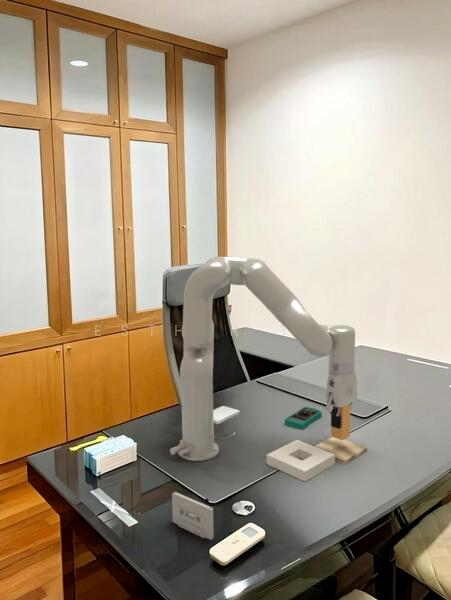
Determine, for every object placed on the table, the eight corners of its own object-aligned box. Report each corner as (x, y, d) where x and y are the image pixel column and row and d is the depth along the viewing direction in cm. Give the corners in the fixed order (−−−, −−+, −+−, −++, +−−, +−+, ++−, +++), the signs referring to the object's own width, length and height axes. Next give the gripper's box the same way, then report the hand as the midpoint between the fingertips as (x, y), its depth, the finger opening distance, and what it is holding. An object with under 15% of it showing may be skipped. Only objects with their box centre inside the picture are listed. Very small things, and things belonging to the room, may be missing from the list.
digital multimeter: (322, 417, 189) (322, 409, 189) (302, 431, 178) (302, 423, 177) (304, 412, 194) (304, 405, 193) (283, 426, 182) (283, 418, 182)
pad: (344, 464, 154) (344, 460, 154) (311, 450, 163) (311, 447, 163) (366, 450, 162) (366, 447, 162) (333, 438, 171) (333, 435, 171)
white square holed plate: (305, 481, 145) (305, 471, 144) (266, 464, 155) (266, 454, 154) (334, 464, 154) (335, 454, 154) (296, 448, 164) (296, 439, 164)
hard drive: (222, 405, 198) (200, 415, 188) (239, 410, 193) (217, 420, 183) (222, 409, 198) (200, 419, 189) (239, 414, 193) (217, 425, 184)
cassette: (171, 523, 127) (170, 493, 125) (176, 519, 128) (175, 490, 127) (210, 541, 119) (209, 510, 118) (215, 537, 121) (214, 507, 120)
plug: (342, 440, 159) (342, 405, 157) (331, 436, 162) (331, 402, 160) (349, 436, 161) (350, 401, 160) (338, 432, 164) (339, 398, 163)
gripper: (335, 376, 149) (334, 437, 153) (367, 363, 161) (366, 420, 164) (314, 370, 155) (313, 429, 158) (346, 358, 166) (345, 413, 169)
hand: (340, 424), depth 161 cm, fingers closed on plug, 4 cm apart
